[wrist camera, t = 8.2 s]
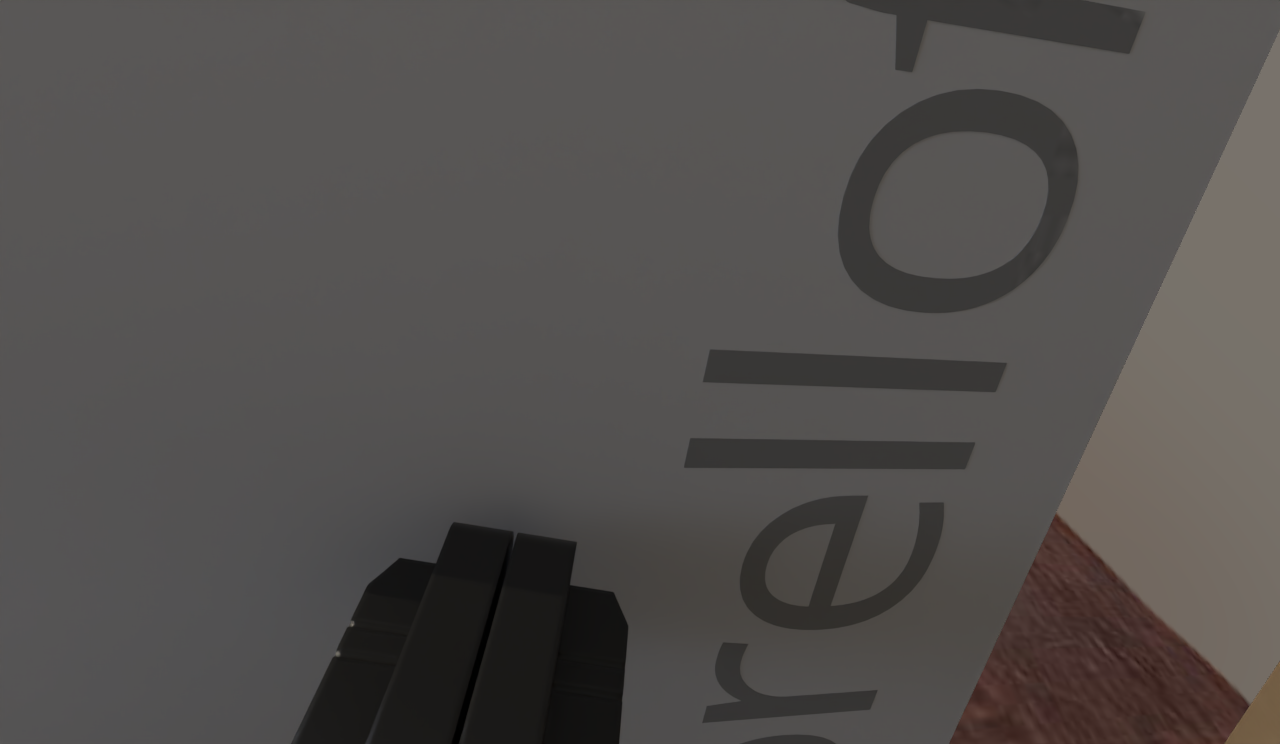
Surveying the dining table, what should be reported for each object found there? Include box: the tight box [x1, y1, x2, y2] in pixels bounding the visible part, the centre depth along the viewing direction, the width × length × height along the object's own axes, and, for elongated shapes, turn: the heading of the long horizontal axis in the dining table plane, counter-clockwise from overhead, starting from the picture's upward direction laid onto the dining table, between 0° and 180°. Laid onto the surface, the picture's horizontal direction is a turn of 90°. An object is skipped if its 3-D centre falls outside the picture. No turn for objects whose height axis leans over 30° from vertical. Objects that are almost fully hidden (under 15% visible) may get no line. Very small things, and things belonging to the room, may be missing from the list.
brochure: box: [0, 0, 1280, 744], centre depth 14 cm, size 14×6×30 cm, turn 103°
